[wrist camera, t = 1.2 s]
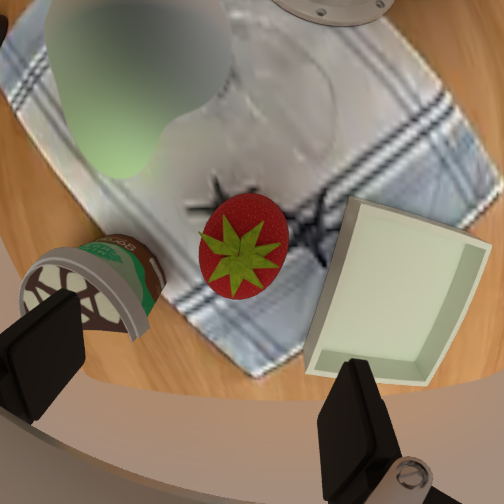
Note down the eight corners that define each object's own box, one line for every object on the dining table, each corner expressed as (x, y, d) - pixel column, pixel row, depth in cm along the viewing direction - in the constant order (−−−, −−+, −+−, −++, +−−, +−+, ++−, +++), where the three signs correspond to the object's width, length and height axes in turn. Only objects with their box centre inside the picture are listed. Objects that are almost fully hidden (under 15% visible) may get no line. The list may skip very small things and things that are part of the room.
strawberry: (204, 256, 28) (167, 309, 18) (231, 174, 25) (202, 188, 16) (267, 279, 28) (261, 344, 18) (299, 199, 25) (312, 228, 16)
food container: (173, 218, 27) (120, 254, 17) (181, 283, 29) (139, 343, 19) (65, 225, 28) (-2, 256, 18) (76, 281, 30) (19, 325, 20)
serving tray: (349, 195, 25) (361, 203, 21) (470, 232, 25) (492, 244, 21) (303, 348, 30) (305, 373, 26) (415, 363, 29) (427, 386, 26)
